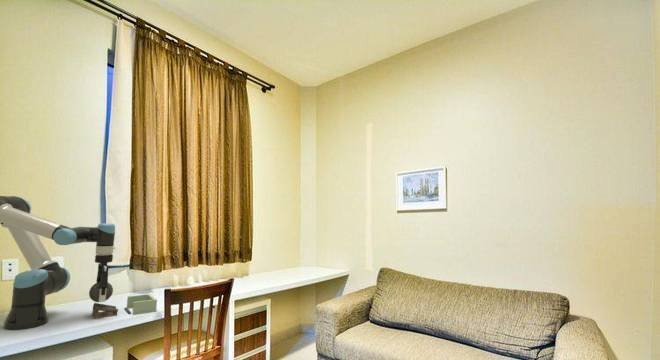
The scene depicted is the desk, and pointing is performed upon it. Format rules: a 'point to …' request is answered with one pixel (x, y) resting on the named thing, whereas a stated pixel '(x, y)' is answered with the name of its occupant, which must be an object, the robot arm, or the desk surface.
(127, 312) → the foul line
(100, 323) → the desk surface
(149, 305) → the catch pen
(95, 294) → the decorative ball
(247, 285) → the desk surface
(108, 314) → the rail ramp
